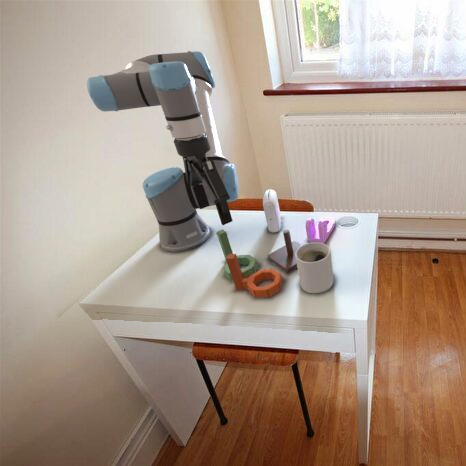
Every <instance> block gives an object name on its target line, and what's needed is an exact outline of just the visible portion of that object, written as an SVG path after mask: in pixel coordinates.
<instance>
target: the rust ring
mask: <svg viewBox="0 0 466 466" xmlns="http://www.w3.org/2000/svg"><path fill="white" fill-rule="evenodd" d="M237 256H238V255H237V253H233V254H228V256H227V257H226V260H225V262H226V261H227V264H228V267H229V270H230V273H231V276H232V279H233V281H232V282H233V285H234V288H235V291H244V290H248V292H249V293H250V294H251V296H253V297H254V298H257V299H261V298H264V299H265V298H271V297H272V296H274V295H275V294H278V292H280V291H281V290H282V287H283V278H282V273H280V272H279V271H277V270H276V269H275V268H263V269H259V270H256V273H254V274H252V275H251V276H250V277H249V278H243V275H242V272H241V270H242V269H241V267H240V266H241V265H239V262H238V259H237ZM264 280H266V281H267V280H273V281H272V282H271V283H269V284H268V285H266V286H265V285H264V286H257V285H258V284H259V283H261V282H262V281H264Z"/></svg>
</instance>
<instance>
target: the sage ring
mask: <svg viewBox="0 0 466 466" xmlns="http://www.w3.org/2000/svg"><path fill="white" fill-rule="evenodd" d="M216 236H217V239H218V242H219V245H220V247H221V248H220V249H222V254H223V257H224V259H225V264H224V266H223V270H224V274H225V276H226V277H227V278H228V279H229V280H230V281H232V282H233V279H232V276H231V273H230V270H229V267H228V264H227V261H226V257H227V256H228V254H234V253H233V249H232V246H231V243H230V240H229V237H228V234H227V230H225V229H219V230H218V231H216ZM236 256H237V259H238V262H239V265H240V266H244V265H245V266H246V267H244V268H242V269H241V272H242V275H243V278H249V277H250V276H251V275H252V274H254V273H256V272H257V271H258V268H259V266H258V262H257V259H256V258H255V257H254V256H253V255H251V254H239V255H236Z"/></svg>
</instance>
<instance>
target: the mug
mask: <svg viewBox="0 0 466 466" xmlns="http://www.w3.org/2000/svg"><path fill="white" fill-rule="evenodd" d="M301 245H302V246H301V247H299V248H298V249H297V251H296V253H295V257H296V263H297V268H296V269H297V273H298V279H299V283H300V284H299V285H300V287H301V289H302V290H303V291H304V292H307V293H309V294H321V293H324V292H326V291H328V290H329V289H330V288H331V287H332V286H333V285H334V280H335V279H334V272H333V262H332V253H331V248H330V246H329V245H328V244H325V243H319V242H307V243H305V244H301Z"/></svg>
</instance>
